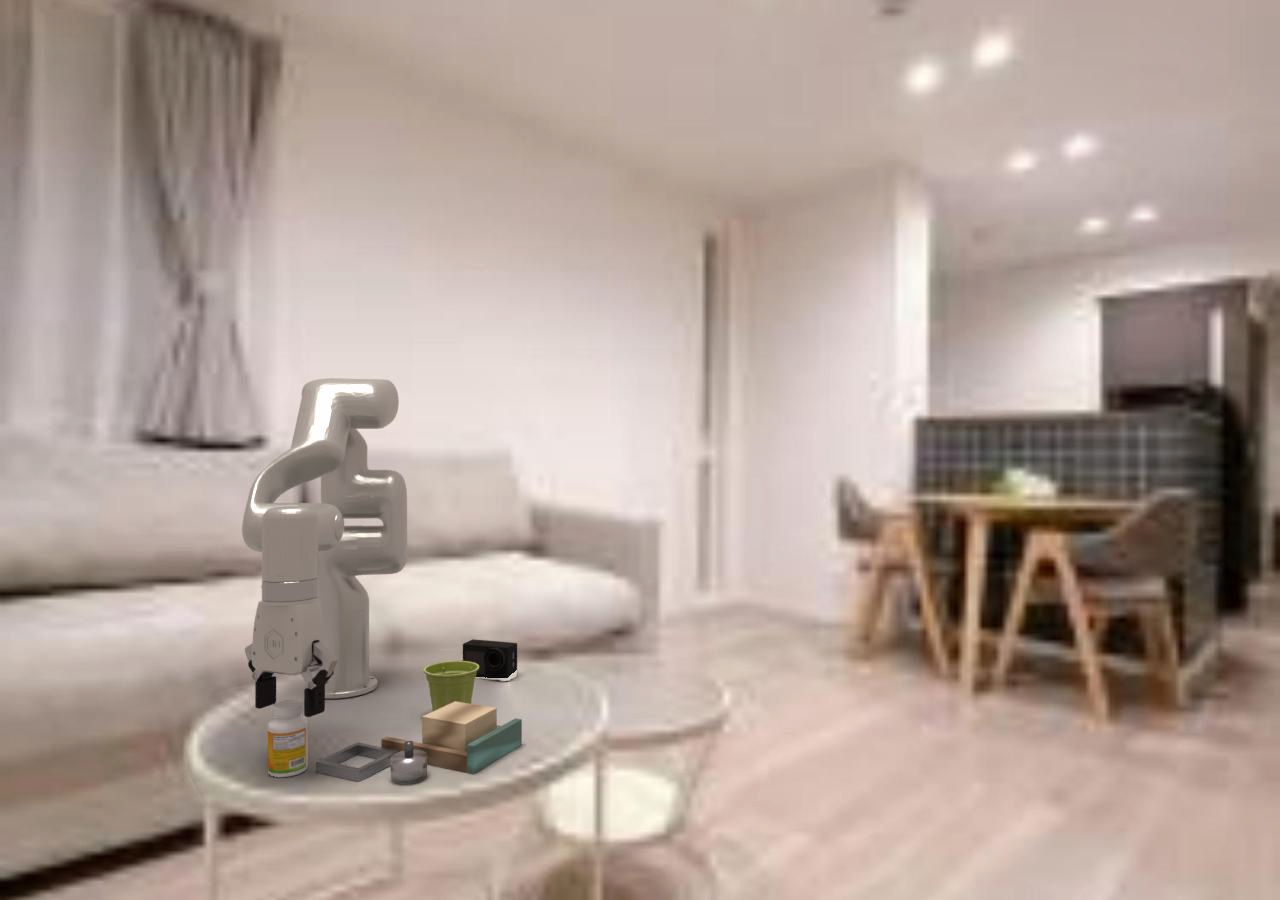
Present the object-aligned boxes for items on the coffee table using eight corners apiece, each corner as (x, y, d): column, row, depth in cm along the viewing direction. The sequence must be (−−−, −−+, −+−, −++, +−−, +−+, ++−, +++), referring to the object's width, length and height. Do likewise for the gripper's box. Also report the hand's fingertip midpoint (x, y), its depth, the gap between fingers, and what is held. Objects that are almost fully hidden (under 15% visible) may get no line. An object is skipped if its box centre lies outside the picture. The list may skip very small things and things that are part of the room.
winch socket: (315, 771, 115) (315, 737, 115) (357, 752, 123) (357, 719, 123) (402, 791, 108) (402, 755, 108) (441, 769, 116) (441, 735, 116)
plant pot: (423, 711, 142) (423, 662, 142) (477, 706, 144) (477, 658, 144) (423, 729, 133) (423, 676, 133) (481, 723, 135) (481, 672, 135)
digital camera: (458, 679, 161) (458, 644, 161) (472, 672, 167) (472, 638, 166) (504, 683, 158) (504, 648, 158) (517, 676, 163) (517, 642, 163)
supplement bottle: (275, 763, 118) (275, 698, 118) (313, 762, 118) (313, 697, 118) (261, 779, 113) (261, 710, 113) (300, 777, 113) (300, 709, 113)
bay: (381, 754, 121) (381, 715, 121) (434, 728, 133) (434, 692, 133) (474, 774, 114) (473, 732, 114) (521, 744, 126) (521, 706, 126)
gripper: (226, 591, 116) (225, 710, 115) (313, 599, 109) (313, 725, 108) (269, 584, 123) (268, 696, 122) (354, 591, 115) (354, 710, 115)
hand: (289, 710), depth 115 cm, fingers open, 9 cm apart
